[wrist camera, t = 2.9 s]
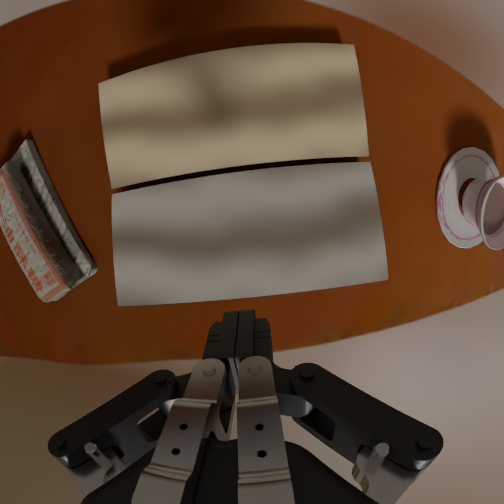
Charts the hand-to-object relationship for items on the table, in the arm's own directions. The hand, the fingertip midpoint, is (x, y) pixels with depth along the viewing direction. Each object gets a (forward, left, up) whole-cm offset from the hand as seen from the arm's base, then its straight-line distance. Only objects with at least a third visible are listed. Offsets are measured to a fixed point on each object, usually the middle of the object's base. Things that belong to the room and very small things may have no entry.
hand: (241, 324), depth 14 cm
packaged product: (-5, -24, -14) cm, 29 cm away
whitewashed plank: (-1, 0, -10) cm, 11 cm away
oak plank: (-12, 0, -13) cm, 18 cm away
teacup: (-2, +26, -14) cm, 29 cm away
